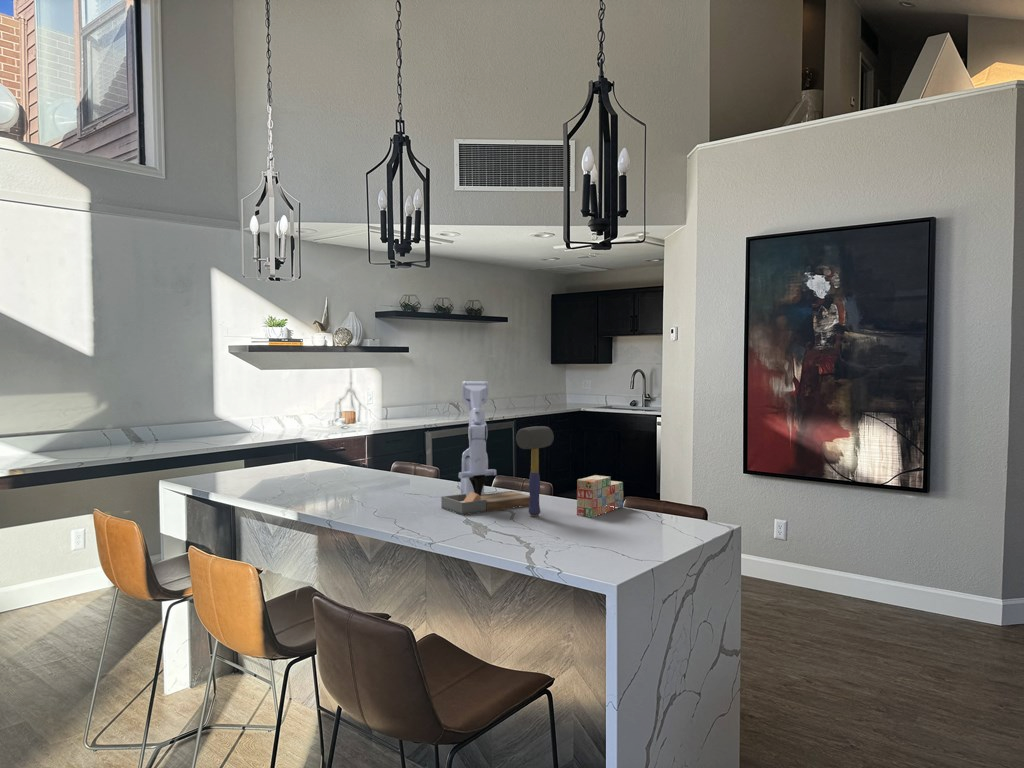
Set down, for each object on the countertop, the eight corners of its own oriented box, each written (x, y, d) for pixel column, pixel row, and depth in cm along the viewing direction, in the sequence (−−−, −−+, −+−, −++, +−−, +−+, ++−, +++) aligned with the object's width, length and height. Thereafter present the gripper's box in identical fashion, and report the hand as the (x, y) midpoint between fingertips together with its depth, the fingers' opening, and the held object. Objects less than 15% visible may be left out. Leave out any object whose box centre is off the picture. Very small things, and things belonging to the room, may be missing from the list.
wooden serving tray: (465, 504, 254) (465, 496, 254) (511, 499, 266) (511, 491, 266) (487, 511, 243) (487, 502, 243) (533, 505, 254) (533, 496, 254)
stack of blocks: (607, 505, 255) (608, 471, 255) (623, 508, 251) (623, 473, 251) (576, 515, 238) (576, 479, 238) (592, 518, 234) (592, 481, 234)
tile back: (465, 506, 249) (461, 502, 248) (473, 495, 251) (470, 491, 250) (472, 508, 245) (469, 505, 244) (481, 497, 247) (478, 494, 246)
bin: (441, 507, 249) (441, 496, 249) (465, 504, 254) (465, 493, 254) (462, 514, 237) (462, 502, 237) (486, 511, 243) (486, 499, 243)
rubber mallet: (530, 520, 229) (531, 428, 228) (513, 517, 234) (514, 426, 233) (554, 515, 238) (555, 425, 237) (538, 511, 243) (538, 424, 242)
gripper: (466, 461, 241) (466, 501, 241) (501, 458, 249) (501, 496, 250) (455, 459, 247) (455, 497, 247) (490, 456, 255) (490, 493, 256)
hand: (477, 497), depth 249 cm, fingers closed, pressing on tile back
